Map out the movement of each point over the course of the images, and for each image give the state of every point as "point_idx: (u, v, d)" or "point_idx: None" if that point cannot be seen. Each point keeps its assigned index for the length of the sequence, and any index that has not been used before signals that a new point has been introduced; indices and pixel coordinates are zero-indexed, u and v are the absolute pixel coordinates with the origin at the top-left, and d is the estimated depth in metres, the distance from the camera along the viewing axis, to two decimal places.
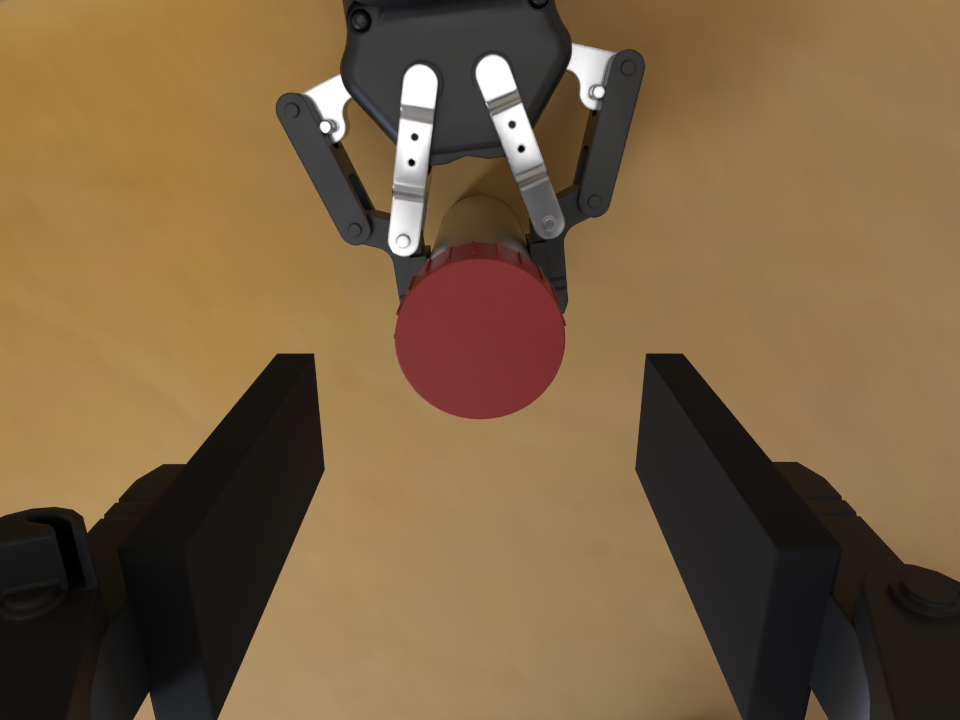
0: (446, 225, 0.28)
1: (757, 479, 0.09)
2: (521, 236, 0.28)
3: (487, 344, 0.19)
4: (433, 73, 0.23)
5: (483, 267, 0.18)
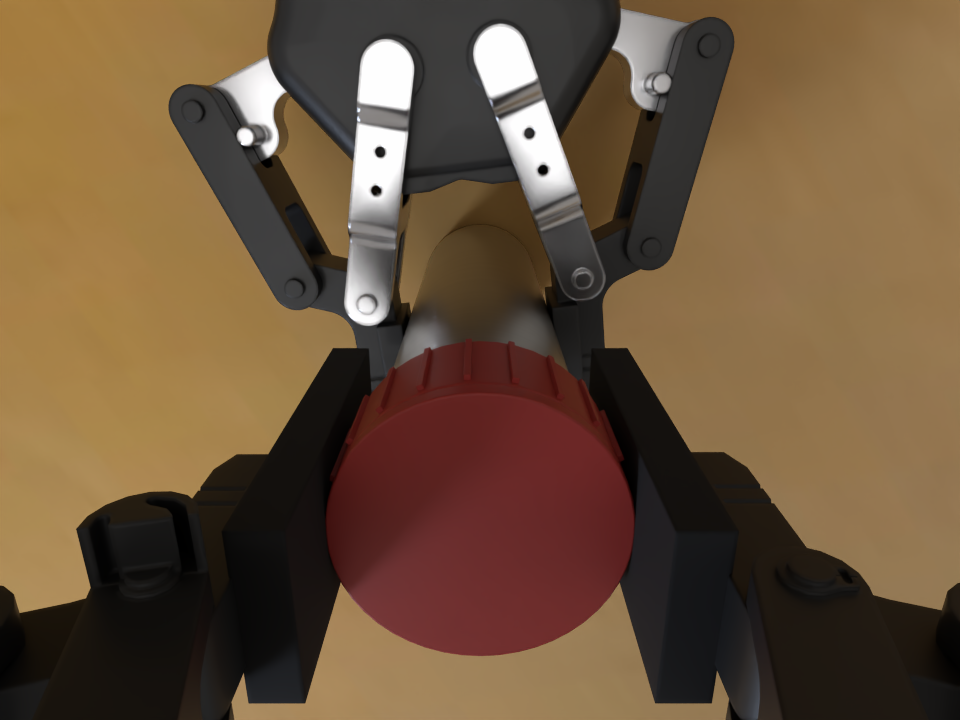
0: (432, 275, 0.20)
1: (671, 467, 0.09)
2: (539, 292, 0.19)
3: (493, 538, 0.10)
4: (407, 53, 0.15)
5: (486, 408, 0.09)
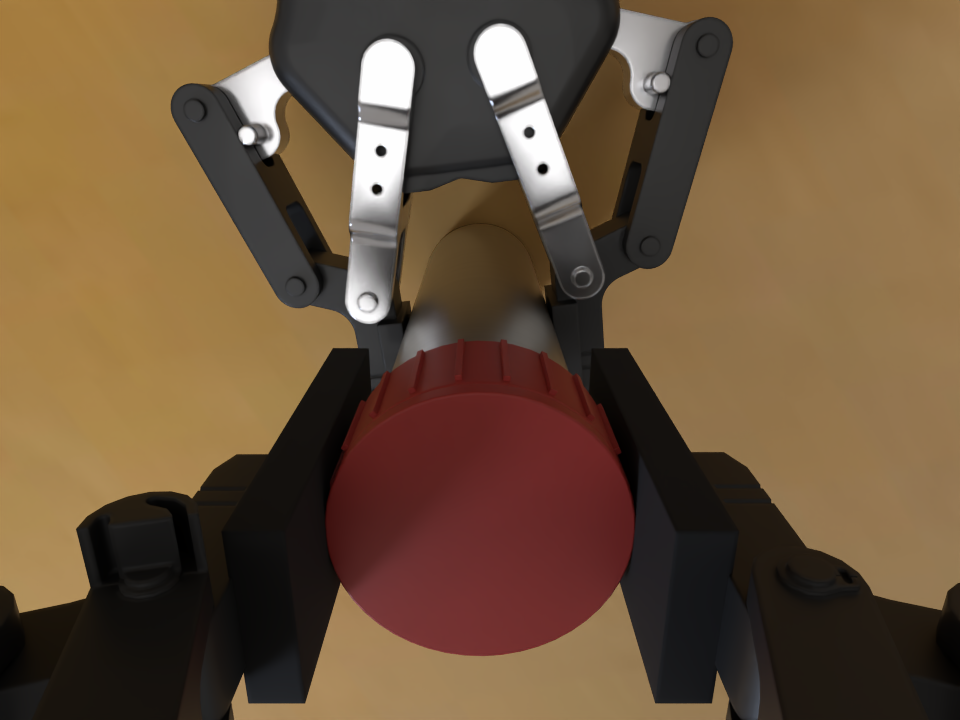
0: (432, 274, 0.20)
1: (671, 467, 0.09)
2: (539, 291, 0.19)
3: (479, 523, 0.10)
4: (408, 53, 0.15)
5: (346, 562, 0.10)
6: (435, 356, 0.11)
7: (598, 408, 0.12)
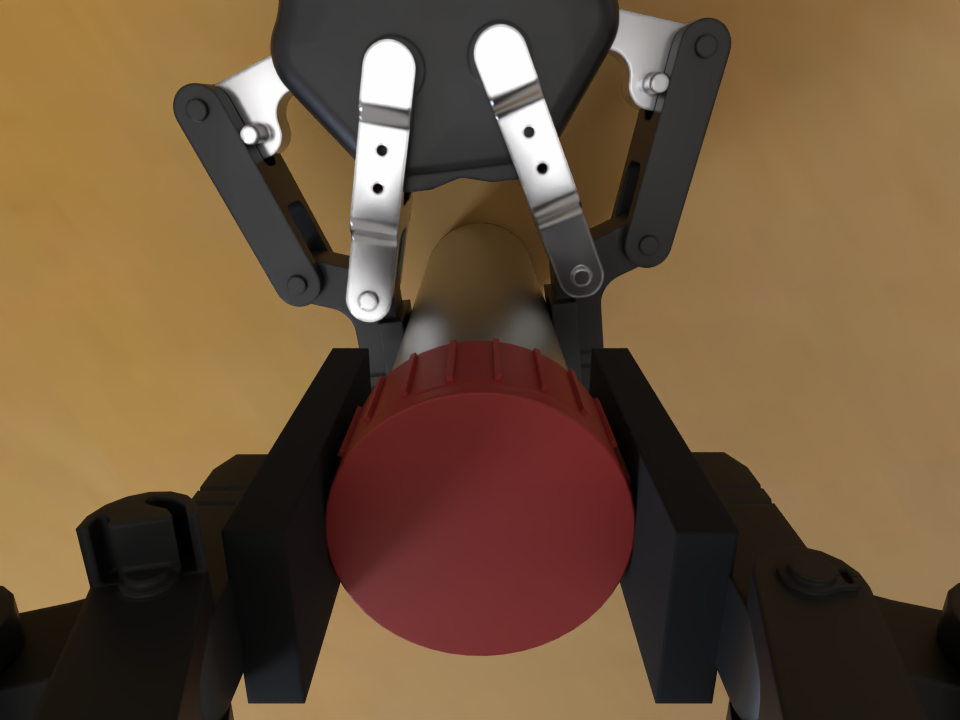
0: (432, 273, 0.20)
1: (671, 467, 0.09)
2: (539, 289, 0.19)
3: (466, 538, 0.10)
4: (408, 53, 0.15)
5: (544, 632, 0.11)
6: None
7: None
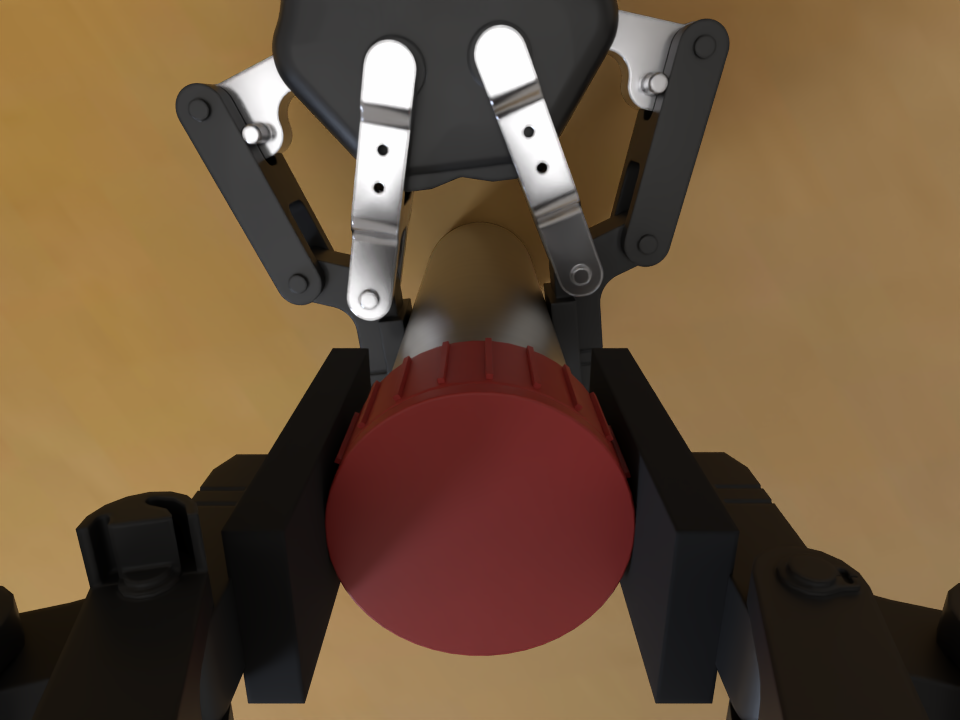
0: (433, 271, 0.20)
1: (672, 467, 0.09)
2: (538, 288, 0.20)
3: (487, 545, 0.10)
4: (409, 53, 0.15)
5: (583, 446, 0.10)
6: None
7: None
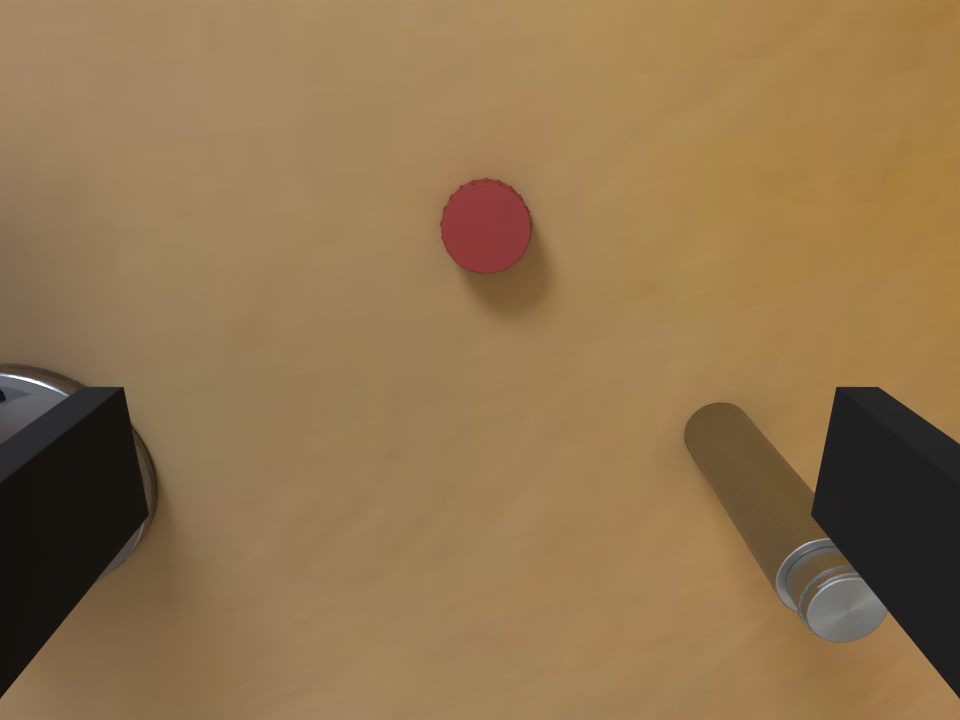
0: None
1: None
2: None
3: (488, 226, 0.35)
4: None
5: (450, 210, 0.35)
6: (503, 184, 0.36)
7: None
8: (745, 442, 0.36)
